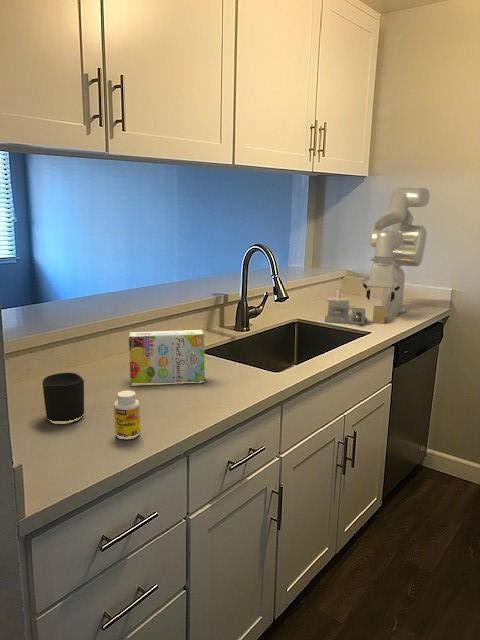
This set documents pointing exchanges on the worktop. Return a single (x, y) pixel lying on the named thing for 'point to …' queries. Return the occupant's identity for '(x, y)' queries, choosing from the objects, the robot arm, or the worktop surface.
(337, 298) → the pipe connector
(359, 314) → the lock pin
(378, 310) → the block
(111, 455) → the worktop surface
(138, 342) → the snack box
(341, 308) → the bracket
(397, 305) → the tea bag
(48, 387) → the pen holder
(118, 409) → the supplement bottle
